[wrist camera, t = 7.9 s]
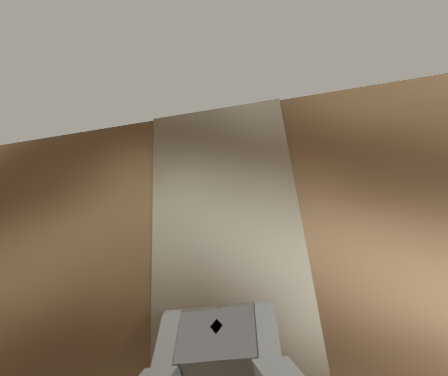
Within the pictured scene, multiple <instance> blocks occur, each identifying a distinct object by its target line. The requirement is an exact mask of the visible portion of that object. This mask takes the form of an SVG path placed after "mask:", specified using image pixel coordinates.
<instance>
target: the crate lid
mask: <svg viewBox="0 0 448 376" xmlns="http://www.w3.org/2000/svg"><path fill="white" fill-rule="evenodd" d="M271 299H273V300H274V305H275V312H276V319H277V326H278V333H279V340H280V347H281V354H282V356H288V357H289V358H290V359H291V360H292V361H293V362H294V364H295V365H296V366H297V367H298V368H299V369H300V371H301V372H302V373H303V374H304V375H305V376H448V73H447V74H441V75H434V76H428V77H422V78H416V79H409V80H403V81H397V82H391V83H385V84H378V85H373V86H366V87H360V88H354V89H347V90H341V91H335V92H330V93H323V94H317V95H310V96H304V97H298V98H291V99H285V100H279V99H275V100H269V101H263V102H257V103H251V104H244V105H238V106H232V107H225V108H219V109H213V110H208V111H201V112H195V113H188V114H182V115H176V116H170V117H164V118H157V119H154V121H149V122H143V123H136V124H130V125H124V126H118V127H112V128H105V129H99V130H93V131H87V132H80V133H75V134H68V135H62V136H56V137H50V138H44V139H37V140H31V141H25V142H19V143H13V144H6V145H0V376H139V374H140V373H141V372H142V371H143V370H144V368H150V367H151V362H152V358H153V353H154V349H155V344H156V340H157V335H158V331H159V327H160V322H161V318H162V315H163V313H164V311H165V310H174V309H183V308H196V307H209V306H218V305H225V304H233V303H242V302H250V301H254V302H255V301H262V300H271Z"/></svg>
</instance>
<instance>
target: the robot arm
mask: <svg viewBox="0 0 448 376" xmlns="http://www.w3.org/2000/svg"><path fill="white" fill-rule="evenodd" d="M139 376H305V375H304V374H303V373H302V372H301V371H300V369H299V368H298V367H297V366H296V365H295V364H294V362H293V361H292V360H291V359H290V358H289V357H288V356H282V354H281V347H280V340H279V333H278V326H277V319H276V312H275V305H274V300H273V299H271V300H262V301H255V302H254V301H250V302H242V303H233V304H225V305H218V306H209V307H196V308H183V309H174V310H165V311H164V313H163V315H162V318H161V322H160V327H159V331H158V335H157V340H156V344H155V349H154V353H153V358H152V362H151V367H150V368H144V370H143V371H142V372H141V373H140V374H139Z"/></svg>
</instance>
